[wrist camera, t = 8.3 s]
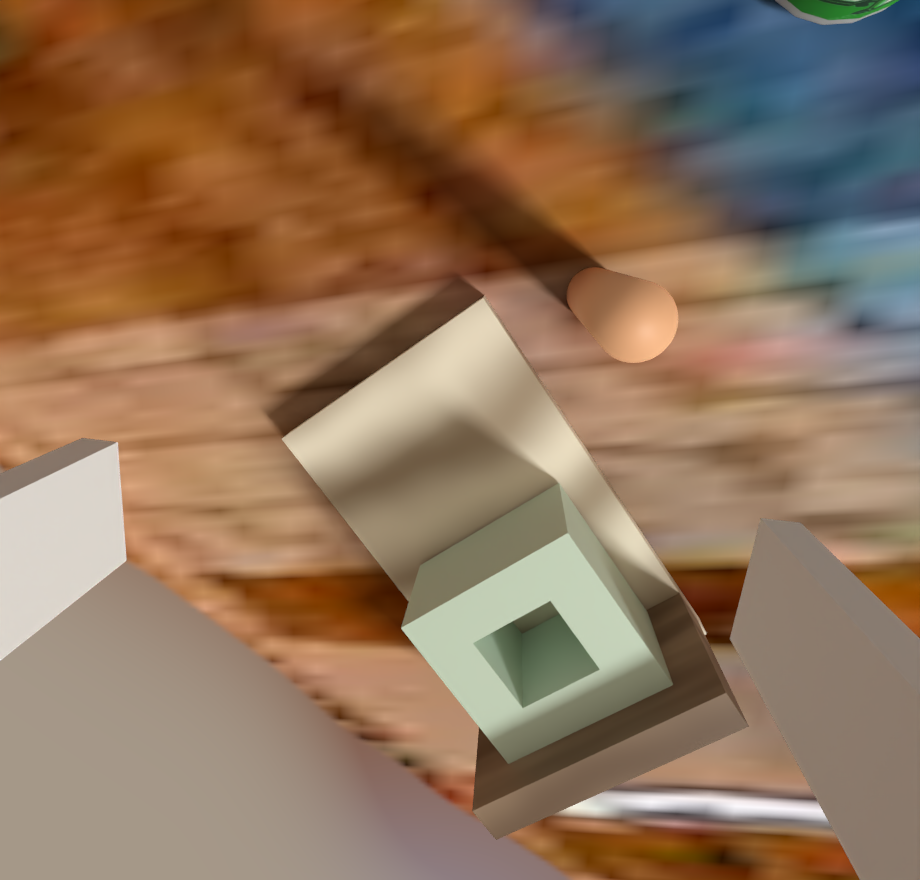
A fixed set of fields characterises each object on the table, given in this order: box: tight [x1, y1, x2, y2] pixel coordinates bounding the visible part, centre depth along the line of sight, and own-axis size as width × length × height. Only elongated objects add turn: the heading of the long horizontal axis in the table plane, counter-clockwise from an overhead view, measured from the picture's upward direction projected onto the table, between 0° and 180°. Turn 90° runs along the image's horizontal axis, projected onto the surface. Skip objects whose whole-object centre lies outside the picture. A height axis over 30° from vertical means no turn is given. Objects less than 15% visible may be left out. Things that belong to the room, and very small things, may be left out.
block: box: [401, 483, 673, 764], centre depth 32 cm, size 9×9×6 cm
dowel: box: [567, 267, 678, 363], centre depth 26 cm, size 3×3×12 cm
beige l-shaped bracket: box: [282, 296, 749, 840], centre depth 31 cm, size 22×13×10 cm, turn 35°
